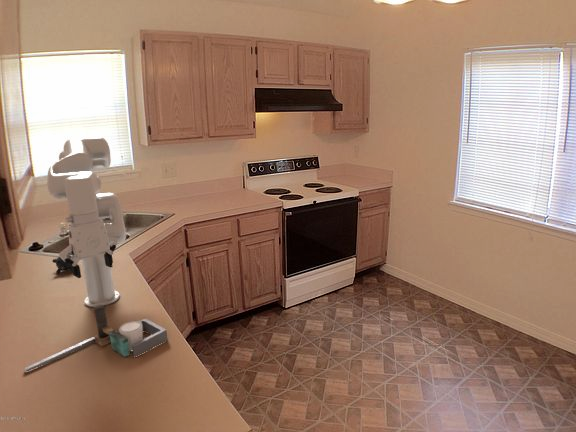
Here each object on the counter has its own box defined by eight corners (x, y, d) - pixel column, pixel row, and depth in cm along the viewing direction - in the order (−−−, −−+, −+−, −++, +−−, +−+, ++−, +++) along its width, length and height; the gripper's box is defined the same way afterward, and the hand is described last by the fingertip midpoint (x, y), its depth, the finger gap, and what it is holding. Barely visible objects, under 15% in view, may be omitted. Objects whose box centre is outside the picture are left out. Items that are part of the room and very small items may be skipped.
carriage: (94, 341, 127) (88, 307, 124) (108, 335, 130) (102, 302, 127) (120, 359, 117) (114, 323, 114) (134, 352, 121) (128, 317, 118)
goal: (114, 344, 126) (112, 332, 125) (146, 328, 134) (144, 318, 133) (135, 358, 119) (134, 346, 117) (167, 341, 127) (166, 329, 126)
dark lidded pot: (43, 272, 179) (50, 256, 189) (66, 283, 184) (71, 267, 194) (57, 256, 176) (64, 242, 187) (79, 268, 182) (85, 253, 192)
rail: (24, 371, 114) (23, 368, 113) (105, 334, 132) (105, 331, 131) (26, 373, 113) (25, 370, 113) (107, 336, 131) (107, 332, 130)
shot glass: (120, 354, 120) (117, 334, 119) (122, 342, 127) (119, 323, 125) (144, 350, 122) (141, 329, 121) (145, 338, 129) (142, 319, 127)
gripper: (59, 227, 108) (70, 284, 113) (119, 213, 121) (126, 265, 126) (48, 222, 113) (58, 278, 117) (106, 209, 126) (114, 260, 130)
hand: (94, 271), depth 122 cm, fingers open, 9 cm apart
